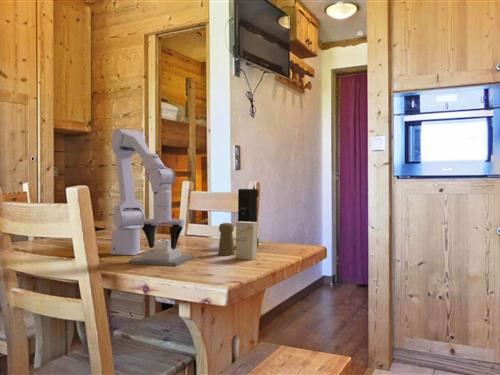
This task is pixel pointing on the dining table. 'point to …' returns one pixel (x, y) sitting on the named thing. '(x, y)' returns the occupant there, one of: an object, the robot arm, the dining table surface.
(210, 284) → the dining table surface
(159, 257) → the outlet plate
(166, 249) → the brick
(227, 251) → the cork
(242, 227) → the skincare box
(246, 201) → the portable radio
